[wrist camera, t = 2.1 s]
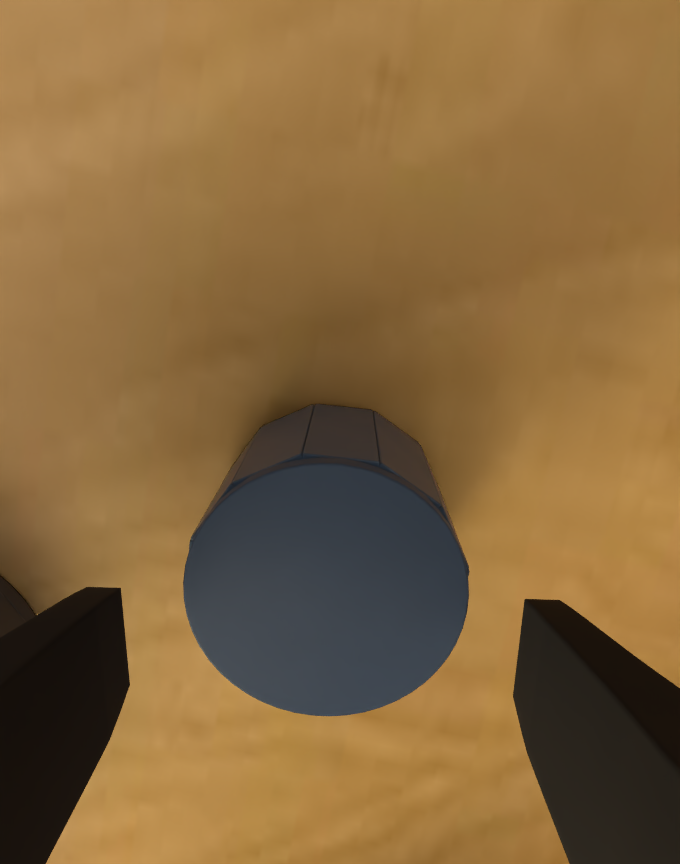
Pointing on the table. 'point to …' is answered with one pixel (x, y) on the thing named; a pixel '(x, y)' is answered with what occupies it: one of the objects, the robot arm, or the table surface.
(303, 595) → the dark grey short cylinder
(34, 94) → the table surface
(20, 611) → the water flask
